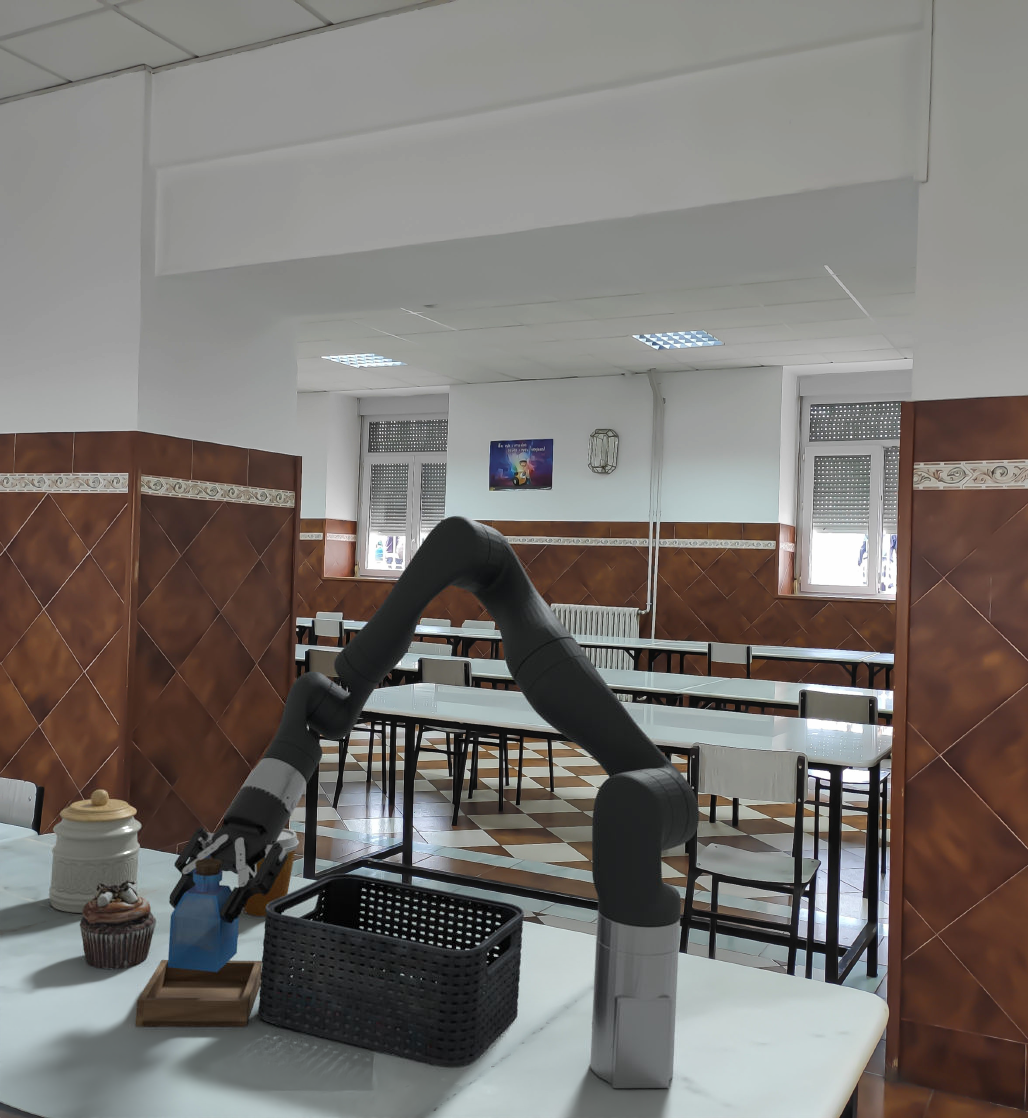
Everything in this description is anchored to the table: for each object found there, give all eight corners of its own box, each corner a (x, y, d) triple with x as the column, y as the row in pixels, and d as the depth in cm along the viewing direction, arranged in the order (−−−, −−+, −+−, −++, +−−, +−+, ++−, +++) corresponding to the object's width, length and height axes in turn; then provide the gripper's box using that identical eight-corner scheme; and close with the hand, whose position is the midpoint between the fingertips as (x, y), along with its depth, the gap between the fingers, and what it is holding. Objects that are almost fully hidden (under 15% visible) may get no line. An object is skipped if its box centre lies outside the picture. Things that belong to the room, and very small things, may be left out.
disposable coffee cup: (228, 903, 163) (233, 828, 163) (287, 898, 167) (292, 825, 167) (239, 922, 154) (243, 843, 154) (301, 917, 158) (305, 839, 158)
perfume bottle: (236, 953, 127) (242, 857, 128) (217, 972, 121) (222, 871, 121) (189, 948, 128) (195, 853, 128) (167, 967, 122) (173, 867, 122)
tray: (246, 1026, 119) (247, 1001, 119) (135, 1026, 117) (136, 1000, 117) (260, 984, 131) (262, 961, 131) (160, 983, 130) (161, 960, 130)
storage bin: (526, 1010, 128) (532, 903, 128) (465, 1076, 110) (471, 952, 110) (331, 968, 138) (336, 870, 139) (245, 1023, 120) (252, 909, 121)
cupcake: (91, 977, 131) (96, 899, 131) (69, 954, 138) (74, 880, 138) (164, 962, 137) (169, 888, 137) (139, 941, 144) (144, 870, 145)
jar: (54, 890, 164) (61, 781, 165) (139, 887, 168) (145, 781, 169) (42, 917, 152) (50, 799, 152) (134, 913, 156) (141, 798, 156)
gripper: (211, 777, 135) (140, 886, 124) (298, 792, 129) (231, 908, 118) (236, 810, 139) (169, 918, 129) (321, 825, 133) (258, 940, 123)
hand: (199, 913), depth 123 cm, fingers closed on perfume bottle, 7 cm apart
